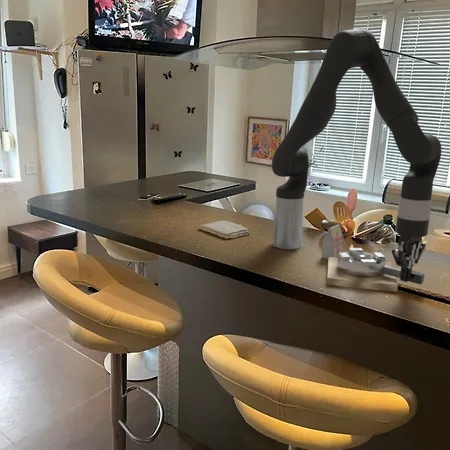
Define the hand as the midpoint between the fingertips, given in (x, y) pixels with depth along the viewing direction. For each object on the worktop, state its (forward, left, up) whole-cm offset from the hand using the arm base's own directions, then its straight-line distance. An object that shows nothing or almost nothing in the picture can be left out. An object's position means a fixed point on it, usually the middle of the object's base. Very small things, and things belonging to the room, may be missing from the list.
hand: (405, 280), depth 119 cm
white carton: (-19, +25, -4) cm, 31 cm away
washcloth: (-59, +43, -4) cm, 73 cm away
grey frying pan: (-6, +6, -1) cm, 9 cm away
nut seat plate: (-11, +9, -3) cm, 14 cm away
